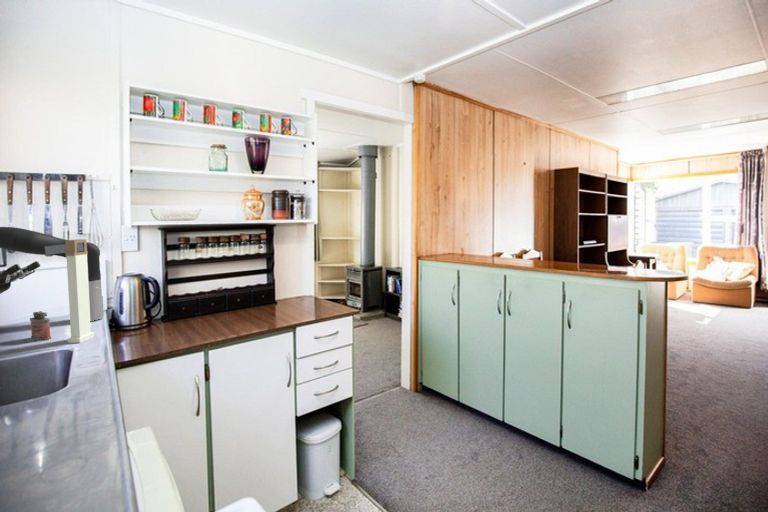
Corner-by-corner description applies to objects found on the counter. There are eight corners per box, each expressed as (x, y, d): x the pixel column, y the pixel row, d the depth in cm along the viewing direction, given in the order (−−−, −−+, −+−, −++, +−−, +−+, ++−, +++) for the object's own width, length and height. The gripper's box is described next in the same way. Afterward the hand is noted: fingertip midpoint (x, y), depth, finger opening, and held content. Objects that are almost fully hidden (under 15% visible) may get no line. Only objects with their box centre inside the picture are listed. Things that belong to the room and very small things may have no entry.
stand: (83, 336, 151) (78, 239, 148) (94, 336, 152) (89, 239, 148) (67, 342, 143) (61, 240, 140) (79, 342, 144) (74, 240, 140)
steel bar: (52, 254, 145) (50, 245, 145) (83, 250, 146) (82, 242, 146) (46, 254, 142) (44, 246, 142) (78, 251, 143) (76, 242, 143)
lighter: (28, 338, 147) (26, 311, 146) (38, 336, 150) (37, 309, 150) (43, 341, 145) (41, 313, 144) (53, 338, 148) (52, 311, 147)
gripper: (-37, 281, 136) (5, 257, 136) (0, 275, 150) (38, 253, 150) (-24, 300, 137) (18, 277, 137) (12, 292, 151) (50, 271, 151)
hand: (29, 264), depth 144 cm, fingers open, 8 cm apart
